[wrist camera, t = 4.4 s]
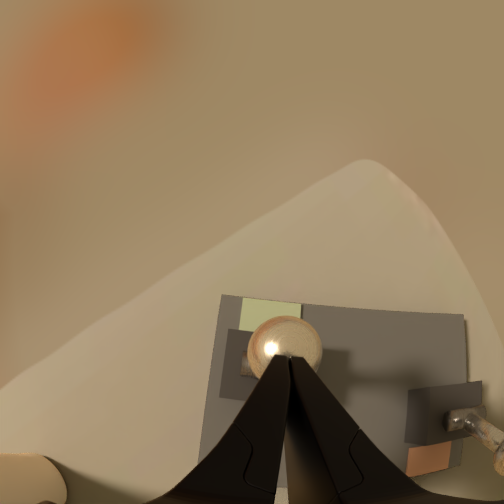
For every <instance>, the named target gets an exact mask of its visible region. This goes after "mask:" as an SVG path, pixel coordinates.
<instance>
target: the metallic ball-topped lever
mask: <svg viewBox="0 0 504 504" xmlns="http://www.w3.org/2000/svg"><path fill="white" fill-rule="evenodd" d="M275 354H277V355H286V356H287V357H288V361H289V358H290V357H291V356H300V357H304V358H305V360H306V361H307V362H308V363H309V365H310V366H311V367H312V368H313V370H314V371H315V372H317V370H318V368H319V366H320V363H321V360H322V343H321V340H320V337H319V335H318V334H317V332H316V331H315V329H314V328H313V327H312V326H311V325H310V324H309V323H307V322H306V321H304V320H302V319H300V318H298V317H294V316H277V317H274V318H271V319H269V320H267V321H265V322H263V323H262V324H261V325H260V326H259V327H258V328H257V329H256V330H255V331H254V333H253V334H252V336H251V338H250V340H249V343H248V348H247V351H245V350H243V355H242V363H241V371H240V376H242V377H250V378H258V379H260V377H261V376H262V374H263V372H264V371H265V369H266V367H267V366H268V364H269V362H270V361H271V359H272V357H273V356H274V355H275Z"/></svg>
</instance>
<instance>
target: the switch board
mask: <svg viewBox="0 0 504 504" xmlns="http://www.w3.org/2000/svg"><path fill="white" fill-rule="evenodd" d="M277 316H294V317H298V318H300V319H302V320H304V321H306V322H307V323H309V324H310V325H311V326H312V327H313V328H314V329H315V331H316V332H317V334H318V335H319V337H320V340H321V343H322V360H321V363H320V366H319V368H318V370H317V372H316V373H317V375H318V376H319V377H320V378H321V380H322V381H323V382H324V383H325V385H326V386H327V387H328V388H329V390H330V391H331V392H332V393H333V395H334V396H335V397H336V398H337V400H338V401H339V402H340V403H341V405H342V406H343V407H344V408H345V410H346V411H347V412H348V413H349V414H350V416H351V417H352V418H353V419H354V421H355V422H356V423H357V424H358V425H359V427H360V428H359V429H362V430H363V431H364V433H365V434H366V435H367V436H368V437H369V438H370V440H371V441H372V442H373V443H374V444H375V445H376V446H377V448H378V449H379V450H380V451H381V452H382V453H384V454H385V455H386V456H387V457H388V458H389V459H390V460H391V461H392V462H393V463H394V464H395V465H396V466H397V467H398V468H399V469H401V470H402V471H403V472H404V473H405V474H406V475H407V476H408V477H414V476H419V475H424V474H428V473H432V472H436V471H440V470H444V469H448V468H451V467H455V466H458V465H460V460H461V453H462V445H463V438H465V437H469V436H472V435H471V434H470V433H468V432H467V431H466V430H464V429H463V428H462V429H458V430H453V431H448V432H447V431H445V430H444V429H443V426H442V419H443V416H444V414H445V412H447V411H449V410H455V409H460V408H466V407H471V406H476V405H481V400H482V381H475V382H468V383H467V369H466V341H465V327H464V315H463V314H440V313H419V312H401V311H386V310H371V309H358V308H345V307H334V306H323V305H312V304H302V303H292V302H282V301H273V300H264V299H255V298H247V297H239V296H231V295H223V294H222V295H221V302H220V308H219V315H218V321H217V328H216V334H215V341H214V348H213V354H212V361H211V368H210V375H209V382H208V389H207V397H206V404H205V411H204V419H203V426H202V434H201V442H200V450H199V458H198V464H199V463H200V462H201V461H202V460H203V459H204V458H205V457H206V456H207V455H208V453H209V452H210V451H211V450H212V449H213V448H214V447H215V446H216V444H217V443H218V442H219V440H220V439H221V438H222V436H223V435H224V434H225V432H226V431H227V429H228V428H229V426H230V425H231V424H232V422H233V420H234V419H235V417H236V416H237V414H238V413H239V411H240V410H241V408H242V406H243V405H244V403H245V402H246V400H247V398H248V397H249V395H250V394H251V392H252V390H253V389H254V387H255V386H256V384H257V382H258V381H259V379H258V378H250V377H242V376H240V371H241V363H242V355H243V350H245V351H247V348H248V343H249V340H250V338H251V336H252V334H253V333H254V331H255V330H256V329H257V328H258V327H259V326H260V325H261V324H262V323H263V322H265V321H267V320H269V319H271V318H274V317H277ZM277 487H283V488H288V487H287V474H286V461H285V449H284V443H283V450H282V457H281V463H280V470H279V476H278V482H277Z"/></svg>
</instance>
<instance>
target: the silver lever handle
mask: <svg viewBox="0 0 504 504" xmlns="http://www.w3.org/2000/svg"><path fill="white" fill-rule="evenodd" d="M485 418H486V408H485V406H484V405H476V406H471V407H466V408H460V409H455V410H449V411H447V412H445V414H444V416H443V419H442V426H443V429H444V430H445V431H447V432H448V431H453V430H458V429H462V428H463V429H464V430H466V431H467V432H468V433H470V434H471V435H472V436H473V437H475V438H476V439H477V440H479V441H480V442H481V443H482V444H484V445H485V446H486V447H487V448H489V449H490V450H491V451H493V452H494V457H493V464H494V468H495V470H496V471H497V473H499V474H500V475H502V476H504V432H502V431H501V430H499V429H498V428H496V427H495V426H493V425H492V424H490V423H489V422H487V421H486V420H485Z"/></svg>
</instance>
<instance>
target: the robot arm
mask: <svg viewBox="0 0 504 504" xmlns="http://www.w3.org/2000/svg"><path fill="white" fill-rule="evenodd" d="M359 428H360V427H359V425H358V424H357V423H356V422H355V421H354V419H353V418H352V417H351V416H350V414H349V413H348V412H347V411H346V410H345V408H344V407H343V406H342V405H341V403H340V402H339V401H338V400H337V398H336V397H335V396H334V395H333V393H332V392H331V391H330V390H329V388H328V387H327V386H326V385H325V383H324V382H323V381H322V380H321V378H320V377H319V376H318V375H317V373H316V372H315V371H314V370H313V368H312V367H311V366H310V365H309V363H308V362H307V361H306V360H305V358H304V357H300V356H291V357H290V358H289V361H288V357H287V356H286V355H277V354H275V355H274V356H273V357H272V359H271V361H270V362H269V364H268V366H267V367H266V369H265V371H264V372H263V374H262V376H261V377H260V379H259V381H258V382H257V384H256V386H255V387H254V389H253V390H252V392H251V394H250V395H249V397H248V398H247V400H246V402H245V403H244V405H243V406H242V408H241V410H240V411H239V413H238V414H237V416H236V417H235V419H234V420H233V422H232V424H231V425H230V426H229V428H228V429H227V431H226V432H225V434H224V435H223V436H222V438H221V439H220V440H219V442H218V443H217V444H216V446H215V447H214V448H213V449H212V450H211V451H210V452H209V453H208V455H207V456H206V457H205V458H204V459H203V460H202V461H201V462H200V463H199V464H198V465H197V466H196V467H195V468H194V469H193V470H192V471H191V472H190V473H189V474H188V475H187V476H186V477H185V478H184V479H183V480H181V481H180V482H179V483H178V484H177V485H176V486H175V487H174V488H172V489H171V490H170V491H168V492H167V493H165V494H164V495H162V496H160V497H158V498H156V499H153V500H151V501H149V502H146V503H144V504H274V500H275V494H276V488H277V482H278V476H279V470H280V463H281V457H282V450H283V443H284V449H285V461H286V474H287V487H288V500H289V504H504V500H501V501H483V500H474V499H466V498H459V497H453V496H447V495H441V494H436V493H432V492H429V491H427V490H425V489H423V488H422V487H420V486H419V485H418V484H416V483H415V482H414V481H413V480H412V479H411V478H409V477H408V476H407V475H406V474H405V473H404V472H403V471H402V470H401V469H399V468H398V467H397V466H396V465H395V464H394V463H393V462H392V461H391V460H390V459H389V458H388V457H387V456H386V455H385V454H384V453H382V452H381V451H380V450H379V449H378V448H377V446H376V445H375V444H374V443H373V442H372V441H371V440H370V438H369V437H368V436H367V435H366V434H365V433H364V431H363V430H362V429H359ZM37 504H57V503H54V502H52V501H48V500H44V501H41V502H39V503H37Z"/></svg>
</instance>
